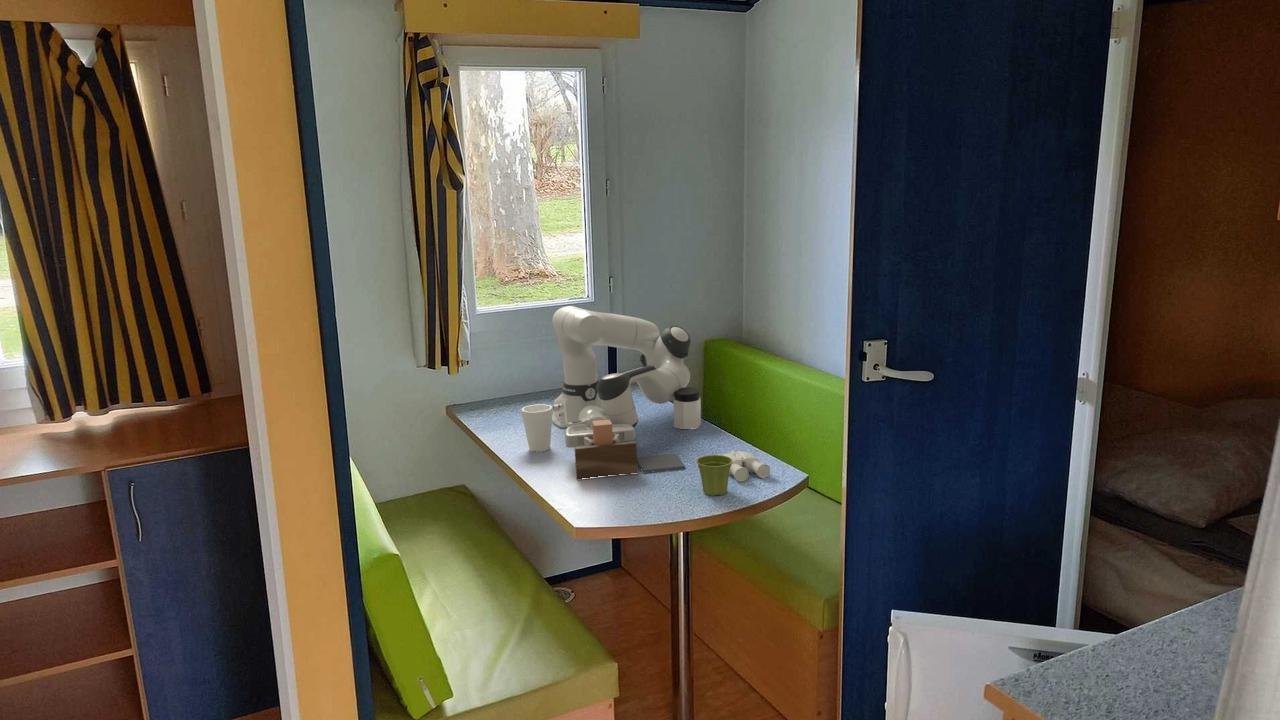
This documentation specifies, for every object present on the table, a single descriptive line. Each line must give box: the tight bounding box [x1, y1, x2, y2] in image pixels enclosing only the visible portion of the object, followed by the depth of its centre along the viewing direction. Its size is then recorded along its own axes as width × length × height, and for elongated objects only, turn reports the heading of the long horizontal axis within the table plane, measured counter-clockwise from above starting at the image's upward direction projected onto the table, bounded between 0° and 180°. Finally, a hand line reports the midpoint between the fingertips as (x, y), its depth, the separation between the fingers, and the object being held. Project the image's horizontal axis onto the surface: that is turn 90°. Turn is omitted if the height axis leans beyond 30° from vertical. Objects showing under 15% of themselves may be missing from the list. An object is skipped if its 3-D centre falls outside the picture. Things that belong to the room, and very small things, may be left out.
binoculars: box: [717, 450, 771, 483], centre depth 248 cm, size 10×16×5 cm, turn 19°
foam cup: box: [520, 403, 554, 453], centre depth 275 cm, size 10×9×13 cm
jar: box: [673, 387, 702, 430], centre depth 291 cm, size 9×8×12 cm
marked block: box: [592, 419, 613, 445], centre depth 252 cm, size 5×5×14 cm
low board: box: [574, 441, 639, 480], centre depth 248 cm, size 2×17×9 cm, turn 100°
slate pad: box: [637, 452, 686, 473], centre depth 257 cm, size 12×12×1 cm
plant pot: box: [695, 454, 733, 496], centre depth 232 cm, size 9×9×9 cm
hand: (603, 443), depth 252 cm, fingers closed on marked block, 5 cm apart
